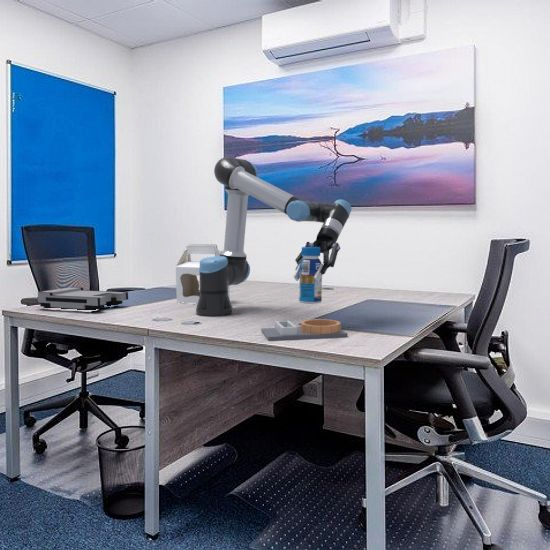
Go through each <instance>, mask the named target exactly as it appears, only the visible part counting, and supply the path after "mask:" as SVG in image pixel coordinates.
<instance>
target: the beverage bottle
mask: <svg viewBox="0 0 550 550" xmlns="http://www.w3.org/2000/svg"><path fill="white" fill-rule="evenodd" d="M301 251H302V256H304V257H303V259H302V260H301V262H300V265H299V267H300V271H299V276H300V278H299V297H298V300H299V302H300V304H308V305H310V304H311V305H314V304H315V305H316V304H317V305H318V304H320V303H322V300H323V298H322V295H323V294H322V293H323V290H322V289H323V288H322V287H323V286H322V285H323V280H322V279H323V276H322V277H321V279H320V281H319V283H317V282H316V280H315V278H314V277H315V275H316V273H317V271H318V269H319V267H320V265H321V264H323V262H321V260H320V258H319V257H321V253H320V247H305V246H302V247H301Z"/></svg>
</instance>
